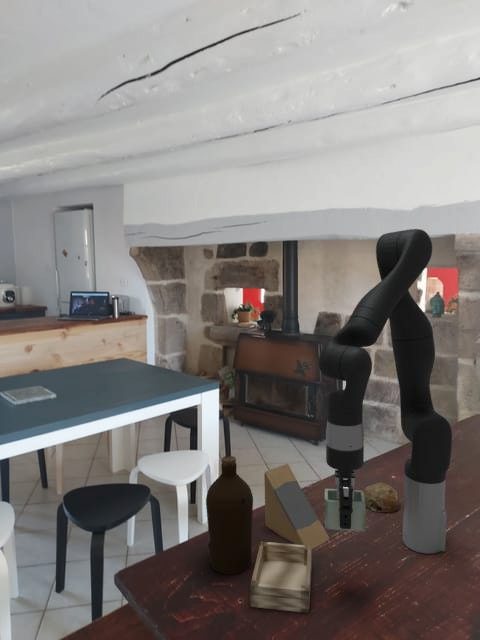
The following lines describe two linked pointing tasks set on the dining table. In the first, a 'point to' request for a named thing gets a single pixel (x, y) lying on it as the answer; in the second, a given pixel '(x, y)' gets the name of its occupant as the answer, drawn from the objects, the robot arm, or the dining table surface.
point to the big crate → (282, 577)
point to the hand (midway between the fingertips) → (344, 519)
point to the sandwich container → (290, 509)
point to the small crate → (334, 514)
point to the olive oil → (229, 520)
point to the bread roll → (381, 498)
